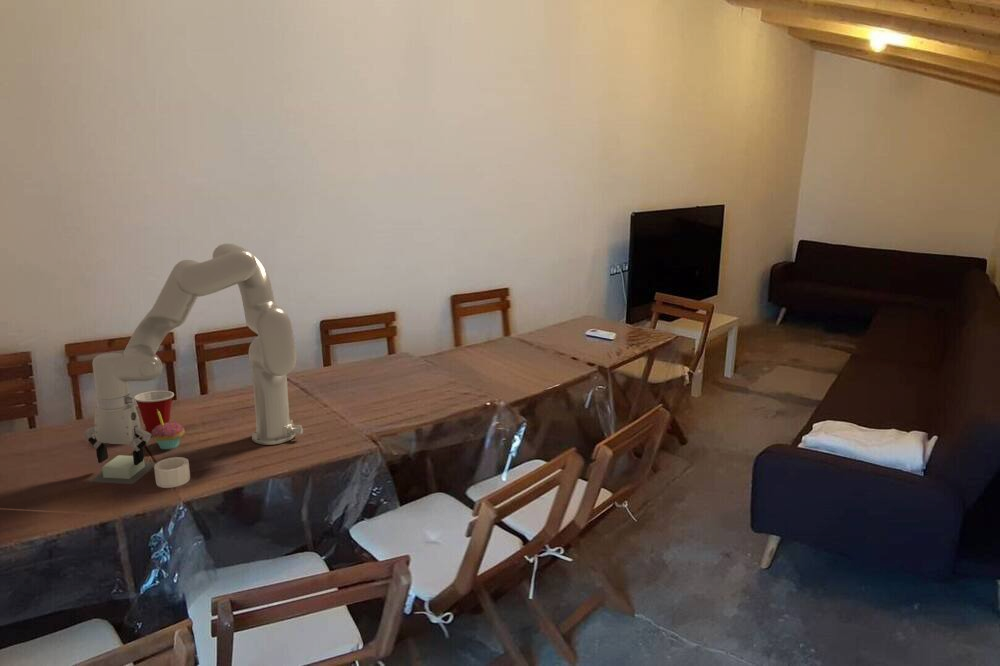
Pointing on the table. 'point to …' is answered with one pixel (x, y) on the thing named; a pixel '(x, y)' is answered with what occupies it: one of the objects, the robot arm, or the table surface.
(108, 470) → the block
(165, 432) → the cupcake
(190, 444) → the table surface
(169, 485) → the bowl
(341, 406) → the table surface
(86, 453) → the table surface
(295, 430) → the robot arm
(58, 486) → the table surface
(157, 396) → the plastic cup
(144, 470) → the mat
